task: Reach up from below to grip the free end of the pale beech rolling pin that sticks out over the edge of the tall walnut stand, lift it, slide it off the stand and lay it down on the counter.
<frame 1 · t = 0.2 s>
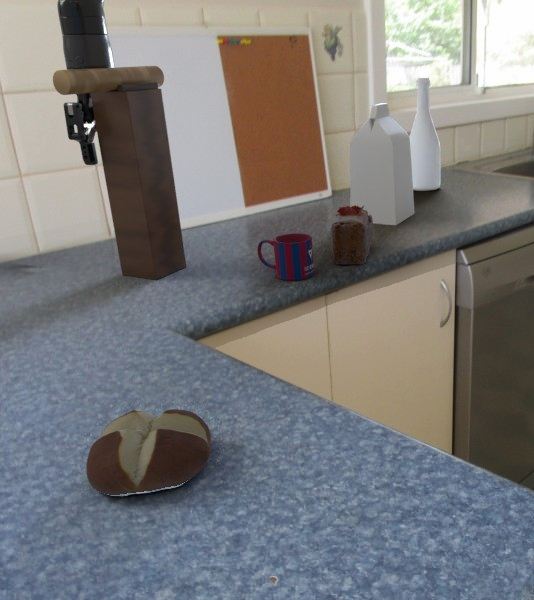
hand: (107, 160, 118), 20 cm above the countertop, tool pointing down, fingers open, 8 cm apart
milk: (383, 218, 158), on the countertop
bread: (156, 467, 65), on the countertop
food item: (353, 256, 130), on the countertop
wine bottle: (423, 188, 190), on the countertop
rolling pin: (112, 79, 108), point 34 cm above the countertop, touching stand
mug: (287, 275, 119), on the countertop
stand: (154, 271, 123), on the countertop
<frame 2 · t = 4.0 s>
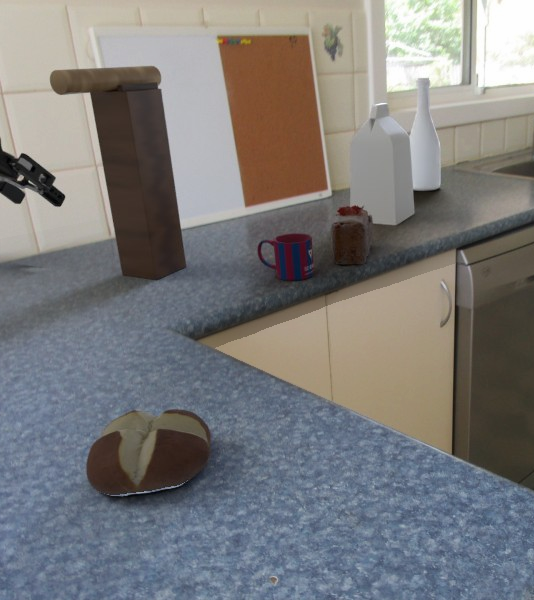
hand: (41, 200, 103), 17 cm above the countertop, tool tilted 45°, fingers open, 8 cm apart
rolling pin: (109, 79, 109), point 34 cm above the countertop, tilted 22°, touching stand
everything else where it was.
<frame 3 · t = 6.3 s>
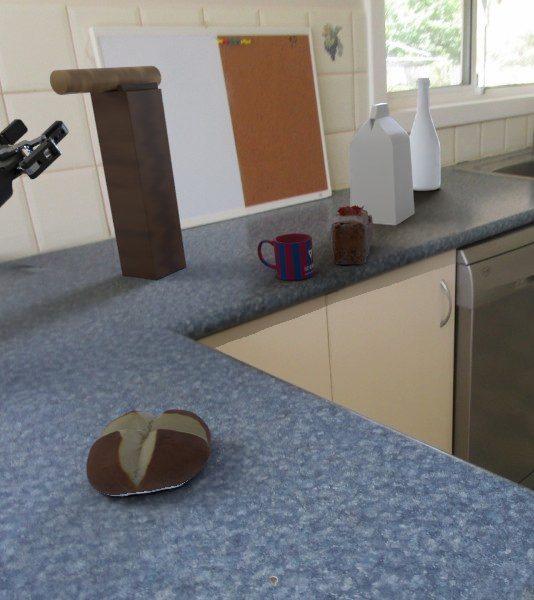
hand: (42, 124, 98), 28 cm above the countertop, tool pointing upward, fingers open, 8 cm apart
nothing on the countertop moved.
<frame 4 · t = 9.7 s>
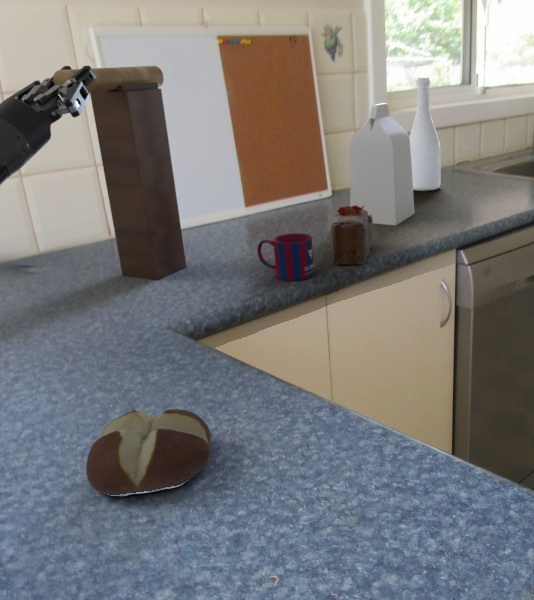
hand: (80, 71, 103), 35 cm above the countertop, tool pointing upward, fingers closed on rolling pin, 3 cm apart
rolling pin: (112, 79, 108), point 34 cm above the countertop, touching gripper, stand
everything else where it was.
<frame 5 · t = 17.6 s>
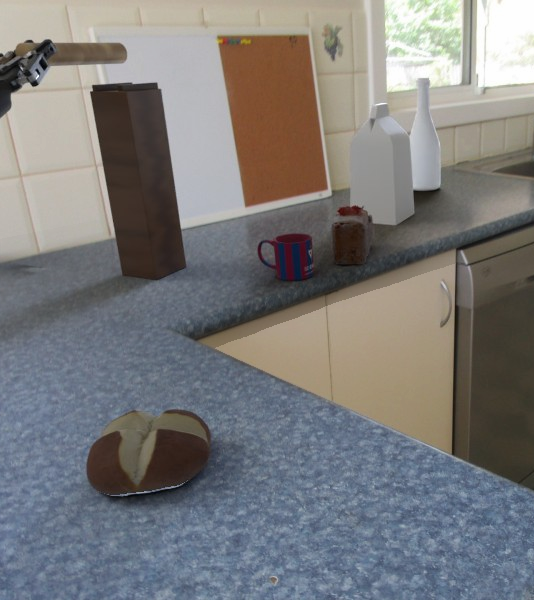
hand: (42, 44, 108), 39 cm above the countertop, tool pointing upward, fingers closed on rolling pin, 3 cm apart
rolling pin: (75, 53, 113), point 38 cm above the countertop, touching gripper
everything else where it was.
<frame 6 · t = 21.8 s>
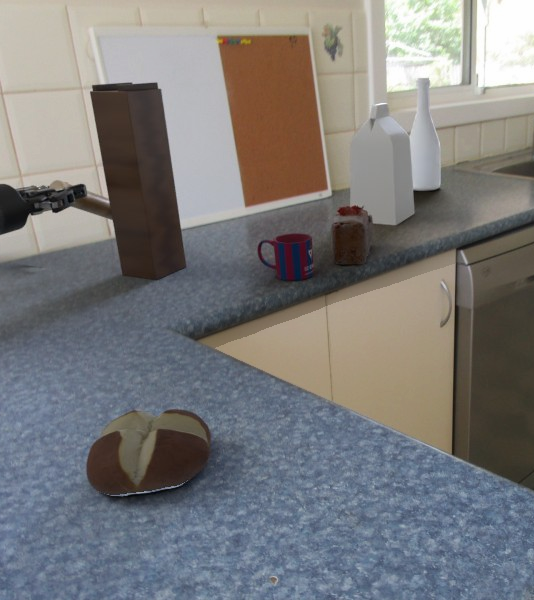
hand: (75, 188, 117), 16 cm above the countertop, tool horizontal, fingers closed on rolling pin, 3 cm apart
rolling pin: (101, 206, 122), point 11 cm above the countertop, tilted 28°, touching gripper
everything else where it was.
when the fingers open (8 cm above the countertop, at t = 25.5 s): rolling pin drops 3 cm, point 2 cm above the countertop.
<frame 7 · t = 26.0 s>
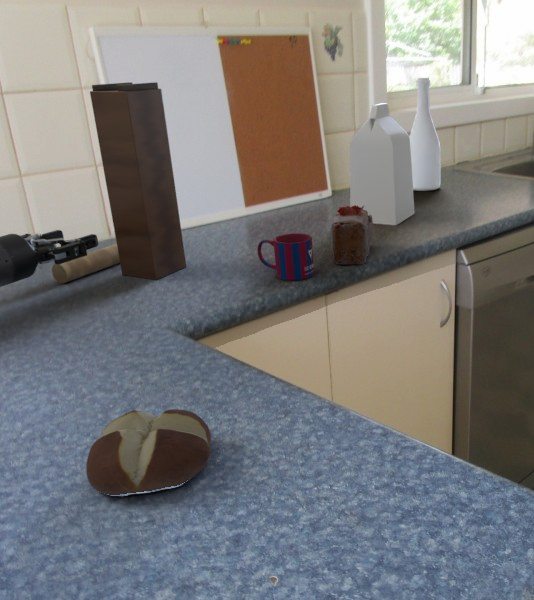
hand: (78, 237, 119), 7 cm above the countertop, tool horizontal, fingers open, 8 cm apart
rolling pin: (104, 258, 125), point 2 cm above the countertop, tilted 6°
everything else where it was.
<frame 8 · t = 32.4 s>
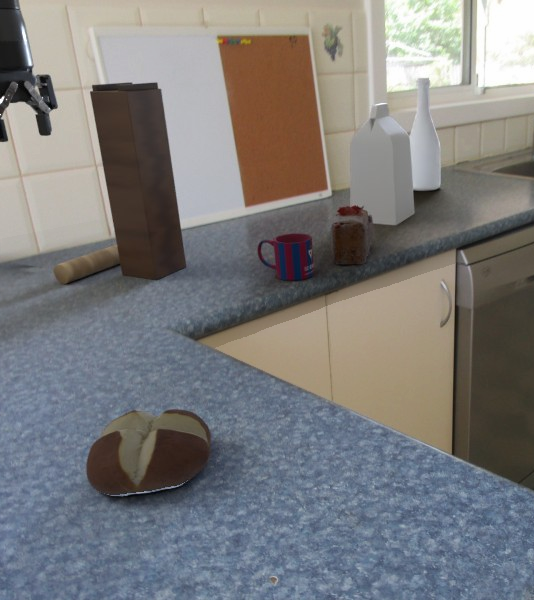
hand: (24, 138, 116), 24 cm above the countertop, tool pointing down, fingers open, 8 cm apart
nothing on the countertop moved.
at the end: rolling pin inside the target area (3.3 cm from its centre), point 1.8 cm above the countertop; the gripper is holding nothing; rolling pin moved 33.6 cm from its start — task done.
